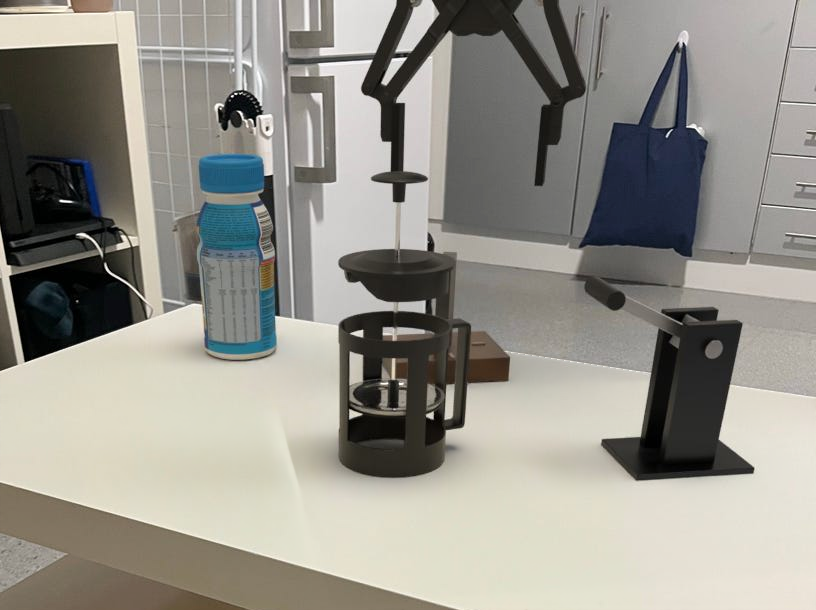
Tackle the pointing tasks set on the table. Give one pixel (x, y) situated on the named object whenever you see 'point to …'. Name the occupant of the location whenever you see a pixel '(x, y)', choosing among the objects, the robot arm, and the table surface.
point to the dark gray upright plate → (447, 295)
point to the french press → (391, 397)
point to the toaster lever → (634, 307)
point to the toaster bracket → (686, 403)
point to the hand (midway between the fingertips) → (467, 182)
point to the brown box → (483, 359)
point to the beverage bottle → (236, 258)
